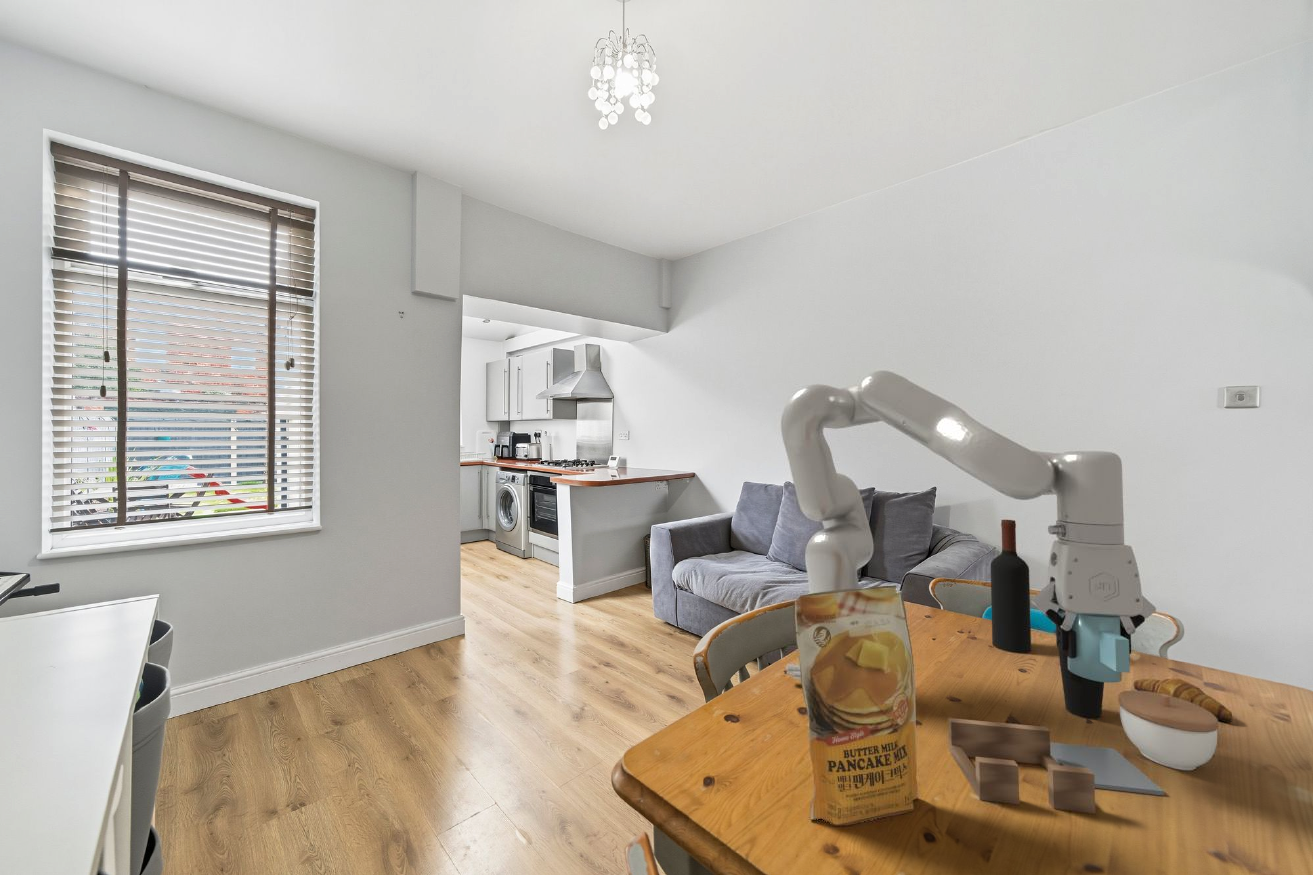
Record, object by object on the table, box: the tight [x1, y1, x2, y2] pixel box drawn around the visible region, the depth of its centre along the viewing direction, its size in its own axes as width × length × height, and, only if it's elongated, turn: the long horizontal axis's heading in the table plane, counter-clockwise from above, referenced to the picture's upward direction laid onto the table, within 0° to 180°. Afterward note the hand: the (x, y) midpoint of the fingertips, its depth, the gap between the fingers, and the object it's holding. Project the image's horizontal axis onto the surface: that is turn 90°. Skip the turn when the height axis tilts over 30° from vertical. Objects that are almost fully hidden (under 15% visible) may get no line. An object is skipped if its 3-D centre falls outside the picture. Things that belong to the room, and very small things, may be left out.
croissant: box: [1133, 678, 1233, 723], centre depth 92 cm, size 14×7×5 cm, turn 20°
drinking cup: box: [1053, 628, 1105, 720], centre depth 91 cm, size 8×8×20 cm
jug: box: [1068, 614, 1131, 684], centre depth 73 cm, size 6×9×11 cm, turn 168°
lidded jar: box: [1117, 689, 1219, 771], centre depth 77 cm, size 11×11×9 cm
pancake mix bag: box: [792, 585, 920, 827], centre depth 67 cm, size 7×19×28 cm, turn 104°
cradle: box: [947, 717, 1096, 814], centre depth 72 cm, size 13×11×5 cm
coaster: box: [1050, 741, 1165, 797], centre depth 74 cm, size 10×10×1 cm
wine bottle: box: [990, 519, 1032, 654], centre depth 121 cm, size 8×8×30 cm
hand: (1093, 655), depth 75 cm, fingers closed on jug, 6 cm apart
